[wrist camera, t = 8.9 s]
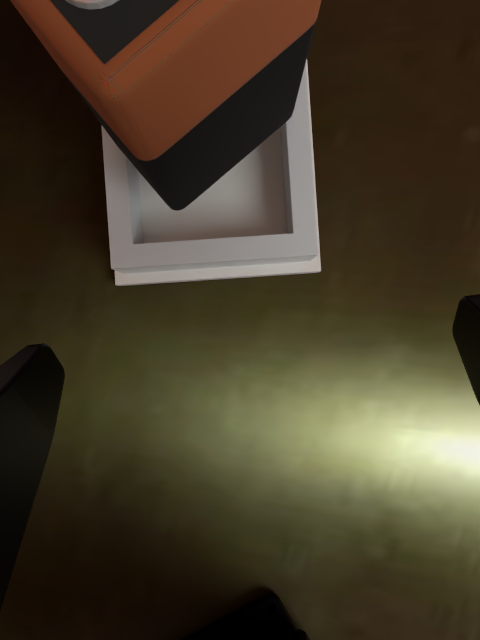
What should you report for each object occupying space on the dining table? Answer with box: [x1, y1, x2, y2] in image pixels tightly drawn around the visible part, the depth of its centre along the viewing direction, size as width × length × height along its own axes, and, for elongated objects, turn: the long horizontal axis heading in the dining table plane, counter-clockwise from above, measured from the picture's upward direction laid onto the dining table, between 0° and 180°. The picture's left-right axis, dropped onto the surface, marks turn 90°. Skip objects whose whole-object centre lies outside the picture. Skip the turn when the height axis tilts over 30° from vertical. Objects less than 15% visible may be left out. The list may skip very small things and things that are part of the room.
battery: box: [10, 0, 321, 211], centre depth 12 cm, size 4×7×10 cm, turn 130°
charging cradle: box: [101, 60, 321, 286], centre depth 18 cm, size 13×10×3 cm
